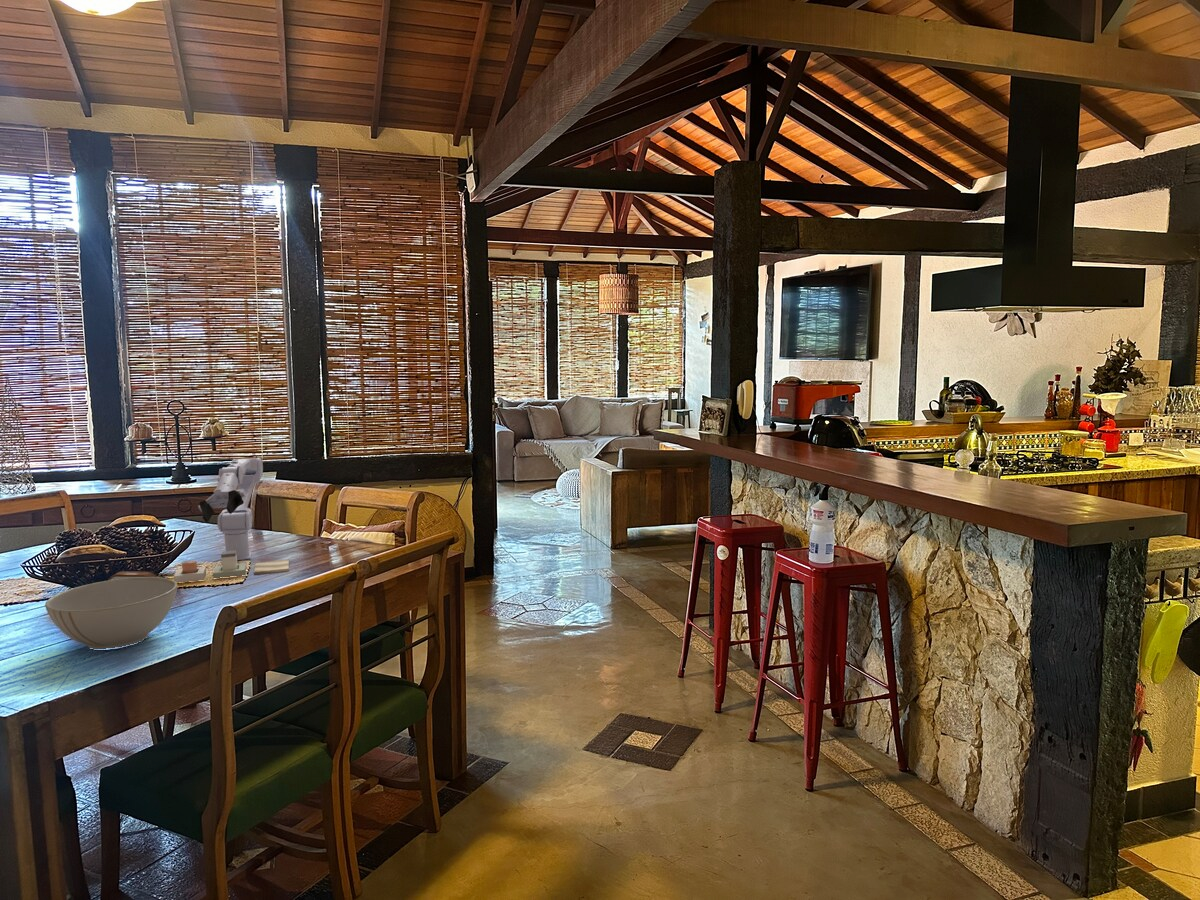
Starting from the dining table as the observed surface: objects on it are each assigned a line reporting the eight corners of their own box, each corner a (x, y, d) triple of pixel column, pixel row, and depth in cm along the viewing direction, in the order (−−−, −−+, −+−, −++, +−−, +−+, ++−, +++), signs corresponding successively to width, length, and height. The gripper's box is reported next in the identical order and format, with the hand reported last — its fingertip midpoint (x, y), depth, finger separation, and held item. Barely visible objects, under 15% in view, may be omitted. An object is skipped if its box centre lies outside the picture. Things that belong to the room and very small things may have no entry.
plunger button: (183, 571, 243) (182, 561, 243) (198, 569, 245) (197, 560, 244) (181, 574, 239) (181, 564, 239) (196, 572, 241) (195, 563, 241)
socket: (215, 572, 250) (215, 566, 250) (246, 568, 253) (246, 562, 253) (213, 579, 241) (212, 573, 241) (245, 576, 245) (244, 569, 244)
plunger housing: (177, 577, 245) (177, 569, 244) (206, 574, 247) (205, 566, 247) (174, 584, 237) (173, 576, 237) (203, 581, 240) (203, 573, 240)
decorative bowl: (30, 669, 173) (24, 616, 172) (75, 629, 199) (70, 582, 198) (165, 655, 180) (161, 603, 179) (192, 617, 206) (188, 572, 205)
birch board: (255, 565, 257) (255, 562, 257) (288, 561, 261) (288, 559, 261) (254, 574, 246) (254, 572, 246) (288, 570, 250) (288, 568, 249)
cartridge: (223, 573, 248) (222, 551, 247) (237, 571, 250) (236, 550, 249) (222, 576, 245) (221, 554, 244) (237, 575, 246) (235, 553, 245)
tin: (164, 600, 222) (161, 570, 221) (156, 603, 219) (154, 573, 218) (114, 599, 224) (111, 570, 223) (106, 603, 221) (103, 573, 220)
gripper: (197, 488, 252) (187, 513, 241) (240, 473, 253) (233, 497, 242) (209, 505, 256) (199, 530, 245) (251, 490, 257) (244, 515, 245)
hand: (217, 515), depth 244 cm, fingers open, 7 cm apart
